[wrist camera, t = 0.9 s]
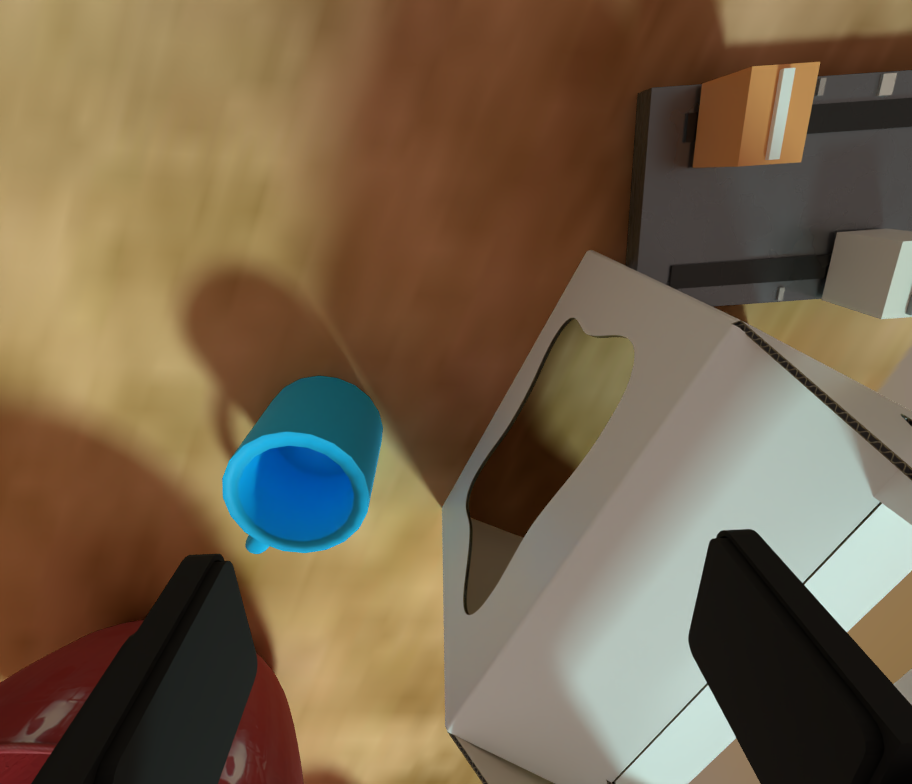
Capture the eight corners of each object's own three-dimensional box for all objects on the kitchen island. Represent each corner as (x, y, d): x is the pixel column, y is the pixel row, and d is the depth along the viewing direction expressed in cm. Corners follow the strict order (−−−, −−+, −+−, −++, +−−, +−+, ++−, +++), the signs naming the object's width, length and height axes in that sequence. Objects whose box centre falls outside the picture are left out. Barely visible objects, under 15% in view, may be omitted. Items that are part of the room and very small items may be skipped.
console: (637, 93, 28) (653, 87, 26) (955, 71, 28) (995, 63, 26) (622, 304, 33) (635, 312, 31) (894, 284, 33) (924, 292, 31)
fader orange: (701, 83, 26) (756, 64, 22) (759, 79, 26) (825, 60, 22) (692, 168, 28) (741, 166, 23) (746, 163, 28) (805, 162, 23)
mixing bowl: (105, 486, 37) (-100, 680, 23) (411, 653, 45) (400, 874, 31) (-36, 694, 45) (-253, 934, 31) (245, 805, 53) (176, 1035, 39)
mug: (302, 353, 33) (264, 404, 26) (405, 415, 36) (397, 479, 28) (222, 479, 37) (169, 555, 30) (320, 529, 39) (293, 612, 32)
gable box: (582, 562, 42) (811, 1171, 16) (439, 508, 39) (444, 1134, 14) (751, 329, 34) (1683, 783, 9) (588, 243, 32) (1234, 528, 6)
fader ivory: (836, 232, 29) (908, 242, 25) (887, 228, 29) (968, 237, 25) (821, 299, 31) (885, 320, 26) (869, 296, 31) (941, 316, 26)
